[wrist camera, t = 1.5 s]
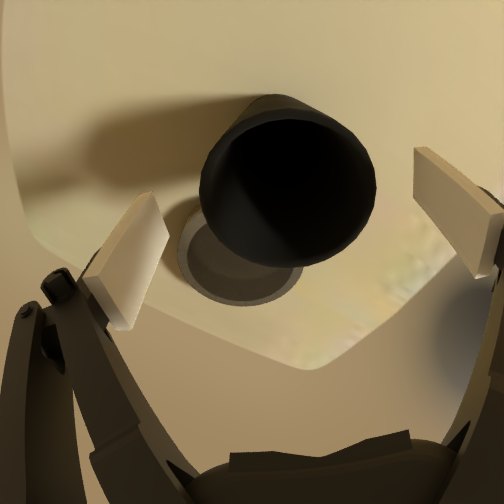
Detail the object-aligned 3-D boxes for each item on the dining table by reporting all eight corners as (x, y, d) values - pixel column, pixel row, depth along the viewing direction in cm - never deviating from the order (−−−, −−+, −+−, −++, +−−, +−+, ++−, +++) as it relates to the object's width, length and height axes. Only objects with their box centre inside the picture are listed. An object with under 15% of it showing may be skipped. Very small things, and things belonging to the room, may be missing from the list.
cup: (312, 182, 25) (342, 280, 16) (219, 165, 25) (191, 255, 15) (337, 94, 21) (400, 138, 11) (236, 72, 20) (212, 92, 11)
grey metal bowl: (166, 204, 27) (158, 219, 25) (292, 180, 25) (295, 194, 23) (203, 294, 33) (199, 313, 31) (307, 280, 32) (310, 299, 29)
